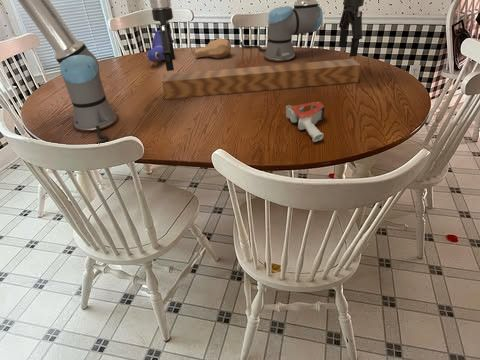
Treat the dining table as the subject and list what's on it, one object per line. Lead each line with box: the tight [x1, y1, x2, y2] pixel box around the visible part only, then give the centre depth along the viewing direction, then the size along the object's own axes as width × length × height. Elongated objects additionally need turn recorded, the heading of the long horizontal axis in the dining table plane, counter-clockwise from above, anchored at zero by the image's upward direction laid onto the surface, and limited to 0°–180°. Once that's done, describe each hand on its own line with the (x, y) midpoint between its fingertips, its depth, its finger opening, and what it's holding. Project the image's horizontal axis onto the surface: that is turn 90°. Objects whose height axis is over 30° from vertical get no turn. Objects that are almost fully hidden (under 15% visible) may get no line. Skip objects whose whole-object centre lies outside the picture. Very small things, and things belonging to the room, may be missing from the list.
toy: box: [146, 29, 165, 67], centre depth 185 cm, size 10×17×25 cm
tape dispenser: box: [285, 100, 325, 143], centre depth 121 cm, size 18×5×20 cm
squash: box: [194, 37, 232, 59], centre depth 188 cm, size 11×20×9 cm, turn 92°
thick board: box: [161, 58, 361, 100], centre depth 151 cm, size 82×8×8 cm, turn 95°
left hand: (171, 64), depth 145 cm, fingers open, 13 cm apart
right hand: (347, 51), depth 148 cm, fingers open, 13 cm apart
